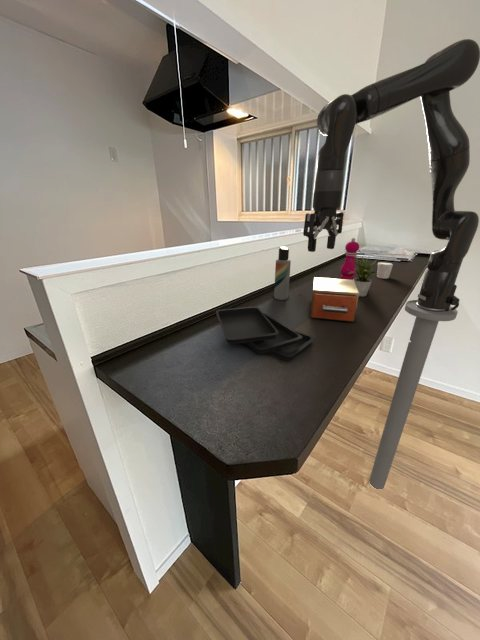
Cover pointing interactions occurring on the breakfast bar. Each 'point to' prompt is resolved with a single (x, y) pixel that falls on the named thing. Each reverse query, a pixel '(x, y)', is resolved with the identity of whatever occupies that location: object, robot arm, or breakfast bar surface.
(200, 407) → the breakfast bar surface
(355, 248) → the pepper mill
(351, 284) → the small drawer box
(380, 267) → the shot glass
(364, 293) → the house plant
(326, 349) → the breakfast bar surface
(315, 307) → the wooden drawer unit
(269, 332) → the tray
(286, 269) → the lotion bottle
